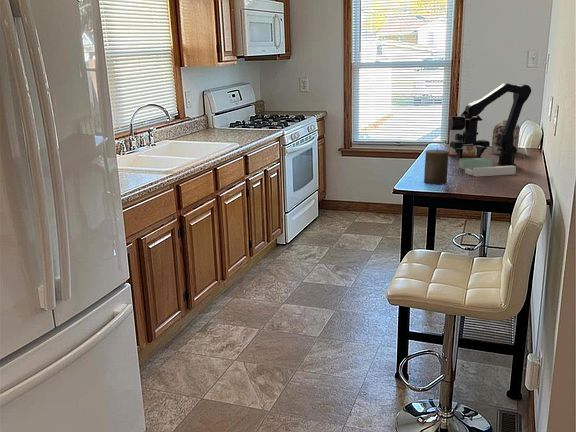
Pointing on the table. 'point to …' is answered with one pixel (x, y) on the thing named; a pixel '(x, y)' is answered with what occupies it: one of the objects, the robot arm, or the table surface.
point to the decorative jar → (499, 129)
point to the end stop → (491, 171)
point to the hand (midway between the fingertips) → (468, 161)
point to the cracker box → (466, 149)
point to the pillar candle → (436, 167)
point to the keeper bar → (474, 163)
